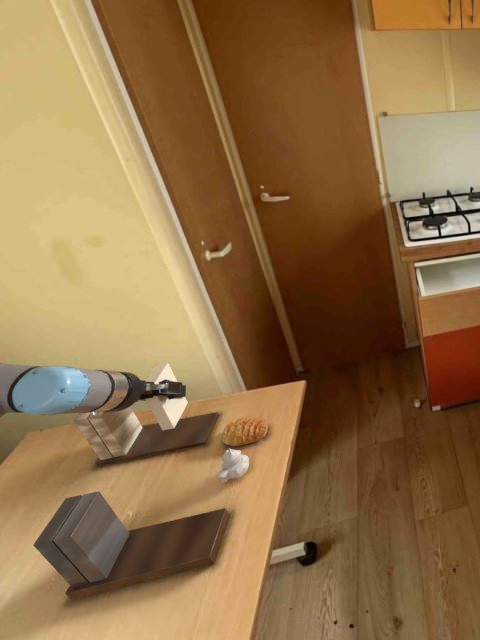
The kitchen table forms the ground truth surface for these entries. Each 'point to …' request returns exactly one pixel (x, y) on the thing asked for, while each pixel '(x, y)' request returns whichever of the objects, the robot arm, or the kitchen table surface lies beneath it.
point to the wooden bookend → (140, 435)
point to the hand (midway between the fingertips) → (176, 392)
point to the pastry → (243, 432)
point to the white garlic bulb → (233, 465)
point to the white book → (165, 399)
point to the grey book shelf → (124, 546)
